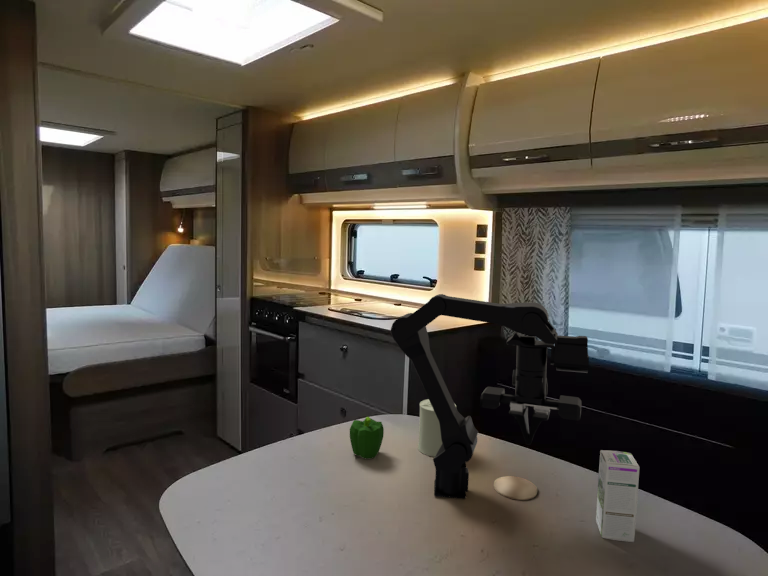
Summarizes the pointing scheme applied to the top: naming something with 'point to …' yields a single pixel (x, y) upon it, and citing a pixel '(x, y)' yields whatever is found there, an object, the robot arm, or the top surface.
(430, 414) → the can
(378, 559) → the top surface
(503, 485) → the cork coaster
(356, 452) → the bell pepper
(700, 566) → the top surface
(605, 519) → the syrup box
